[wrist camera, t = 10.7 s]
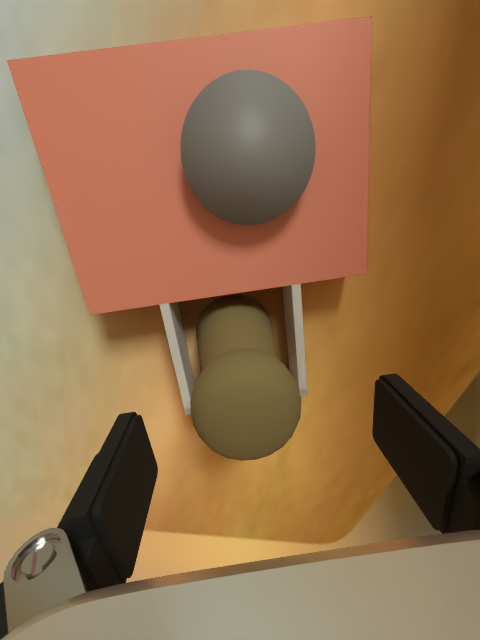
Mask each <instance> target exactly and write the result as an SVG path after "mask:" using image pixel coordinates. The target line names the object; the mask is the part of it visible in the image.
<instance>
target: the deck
mask: <svg viewBox="0 0 480 640" xmlns="http://www.w3.org/2000/svg"><path fill="white" fill-rule="evenodd" d="M371 29H372V16H369V17H361V18H353V19H344V20H336V21H328V22H320V23H311V24H303V25H295V26H287V27H278V28H270V29H262V30H254V31H245V32H237V33H229V34H221V35H212V36H204V37H196V38H188V39H179V40H171V41H163V42H155V43H146V44H138V45H130V46H122V47H113V48H105V49H97V50H89V51H80V52H72V53H64V54H56V55H47V56H39V57H31V58H23V59H14V60H7V62H8V65H9V68H10V71H11V75H12V78H13V81H14V84H15V87H16V90H17V93H18V96H19V99H20V102H21V105H22V108H23V111H24V114H25V117H26V120H27V123H28V126H29V129H30V132H31V135H32V139H33V142H34V145H35V148H36V151H37V154H38V157H39V160H40V163H41V166H42V169H43V172H44V175H45V178H46V181H47V184H48V187H49V190H50V193H51V196H52V199H53V203H54V206H55V209H56V212H57V215H58V218H59V221H60V224H61V227H62V230H63V233H64V236H65V239H66V242H67V245H68V248H69V251H70V254H71V257H72V260H73V264H74V267H75V270H76V273H77V276H78V279H79V282H80V285H81V288H82V291H83V294H84V297H85V300H86V303H87V306H88V309H89V312H90V315H93V314H99V313H106V312H113V311H120V310H126V309H133V308H140V307H147V306H153V305H160V309H161V314H162V318H163V322H164V326H165V330H166V335H167V339H168V343H169V347H170V351H171V356H172V360H173V364H174V368H175V372H176V377H177V381H178V385H179V389H180V393H181V398H182V402H183V406H184V410H185V414H186V415H190V414H191V405H190V401H191V395H192V392H193V388H194V385H195V381H194V376H193V372H192V367H191V362H190V358H189V353H188V348H187V344H186V339H185V334H184V330H183V325H182V320H181V316H180V311H179V307H178V302H180V301H187V300H194V299H201V298H208V297H214V296H221V295H228V294H235V293H241V292H248V291H255V290H262V289H268V288H275V287H282V288H283V300H284V312H285V324H286V336H287V348H288V360H289V371H290V373H291V374H292V375H293V377H294V379H295V381H296V383H297V386H298V389H299V392H300V396H301V397H303V396H308V395H307V379H306V362H305V346H304V330H303V313H302V297H301V284H302V283H309V282H316V281H323V280H329V279H336V278H343V277H350V276H356V275H363V274H367V241H368V188H369V135H370V82H371Z"/></svg>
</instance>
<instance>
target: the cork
mask: <svg viewBox="0 0 480 640" xmlns="http://www.w3.org/2000/svg"><path fill="white" fill-rule="evenodd" d="M196 329H197V341H198V348H199V354H200V361H201V368H202V372H201V374H200V375H199V377H198V378H197V379H196V382H195V385H194V388H193V392H192V395H191V401H190V405H191V417H192V421H193V425H194V427H195V429H196V431H197V433H198V435H199V437H200V438H201V439H202V440H203V441H204V442H205V443H206V444H207V445H208V446H209V447H210V448H211V449H212V450H213V451H214V452H216V453H218V454H220V455H222V456H224V457H226V458H230V459H236V460H255V459H259V458H262V457H265V456H268V455H271V454H272V453H274V452H275V451H277V450H279V449H280V448H282V447H283V446H284V445H285V444H286V442H287V441H288V440H289V439H290V438H291V437H292V435H293V433H294V431H295V428H296V426H297V424H298V422H299V419H300V413H301V396H300V392H299V389H298V386H297V383H296V381H295V379H294V377H293V375H292V374H291V373H290V371H289V370H288V369H287V367H286V366H285V365H284V364H283V363H282V362H281V361H279V360H278V359H277V353H276V346H275V340H274V333H273V327H272V323H271V320H270V317H269V314H268V313H267V311H266V310H265V309H264V307H263V306H262V305H261V304H259V303H258V302H256V301H255V300H253V299H252V298H248V297H245V296H241V295H232V296H225V297H222V298H220V299H217V300H215V301H214V302H212V303H211V304H210V305H208V306H207V307H206V308H205V310H204V311H203V313H202V314H201V315H200V317H199V321H198V324H197V328H196Z"/></svg>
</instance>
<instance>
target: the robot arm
mask: <svg viewBox="0 0 480 640" xmlns="http://www.w3.org/2000/svg"><path fill="white" fill-rule="evenodd" d="M373 438H374V440H375V442H376V444H377V445H378V447H379V448H380V450H381V451H382V453H383V454H384V456H385V457H386V459H387V460H388V462H389V463H390V465H391V466H392V468H393V469H394V471H395V472H396V474H397V475H398V476H399V478H400V479H401V481H402V482H403V484H404V485H405V487H406V488H407V490H408V491H409V493H410V494H411V496H412V497H413V499H414V500H415V502H416V503H417V505H418V506H419V508H420V509H421V510H422V512H423V513H424V515H425V516H426V518H427V519H428V521H429V522H430V524H431V525H432V527H433V528H435V529H436V530H440V531H441V533H442V534H438V535H430V536H422V537H415V538H408V539H402V540H395V541H388V542H381V543H375V544H368V545H360V546H354V547H347V548H340V549H334V550H327V551H320V552H314V553H308V554H301V555H294V556H288V557H281V558H275V559H268V560H262V561H256V562H249V563H242V564H236V565H230V566H224V567H217V568H211V569H205V570H199V571H192V572H187V573H180V574H174V575H168V576H162V577H156V578H151V579H145V580H140V581H134V582H129V583H126V579H127V578H130V577H131V576H132V574H133V570H134V566H135V562H136V558H137V554H138V550H139V546H140V542H141V538H142V534H143V530H144V526H145V522H146V518H147V514H148V510H149V506H150V502H151V498H152V494H153V490H154V486H155V482H156V478H157V473H158V467H157V463H156V460H155V457H154V453H153V450H152V447H151V444H150V441H149V438H148V435H147V432H146V428H145V425H144V422H143V419H142V416H141V415H137V414H136V412H130V413H123V414H120V415H119V416H118V417H117V419H116V421H115V423H114V425H113V427H112V429H111V431H110V433H109V434H108V436H107V438H106V440H105V442H104V444H103V446H102V448H101V450H100V452H99V453H98V454H97V455H96V456H95V457H94V459H93V461H92V463H91V464H90V466H89V468H88V470H87V472H86V474H85V476H84V478H83V480H82V481H81V483H80V485H79V487H78V489H77V491H76V493H75V495H74V497H73V498H72V500H71V502H70V504H69V506H68V508H67V510H66V512H65V514H64V516H63V517H62V519H61V521H60V523H59V525H58V527H57V528H49V529H46V530H44V531H41V532H40V533H38V534H36V535H34V536H33V537H31V538H30V539H29V540H28V541H26V542H25V543H24V544H23V545H22V546H21V547H20V548H19V549H18V550H17V551H16V552H15V554H14V555H13V557H12V558H11V560H10V561H9V562H8V565H7V567H6V570H5V572H4V579H3V582H2V583H1V584H0V640H480V449H479V448H478V447H477V446H476V445H475V444H474V443H473V442H472V441H470V440H469V439H468V438H467V437H466V436H465V435H464V434H463V433H462V432H460V431H459V430H458V429H457V428H456V427H455V426H454V425H453V424H452V423H450V422H449V421H448V420H447V419H446V418H445V417H444V416H443V415H442V414H441V413H439V412H438V411H437V410H436V409H435V408H434V407H433V406H432V405H431V404H430V403H428V402H427V401H426V400H425V399H424V398H423V397H422V396H421V395H420V394H419V393H417V392H416V391H415V390H414V389H413V388H412V387H411V386H410V385H409V384H407V383H406V382H405V381H404V380H403V379H402V378H401V377H400V376H399V375H397V374H389V375H382V376H380V377H379V380H376V382H375V395H374V414H373Z"/></svg>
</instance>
